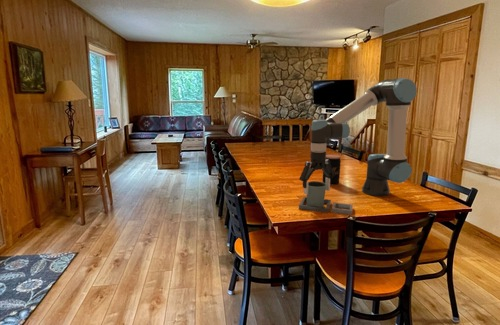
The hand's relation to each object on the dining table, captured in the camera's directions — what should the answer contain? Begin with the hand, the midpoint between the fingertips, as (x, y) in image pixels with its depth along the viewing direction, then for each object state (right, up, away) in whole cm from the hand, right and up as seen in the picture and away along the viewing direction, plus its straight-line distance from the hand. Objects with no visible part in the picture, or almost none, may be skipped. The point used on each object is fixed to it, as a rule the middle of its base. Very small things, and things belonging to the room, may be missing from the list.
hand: (316, 192), depth 160 cm
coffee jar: (+19, +2, +46) cm, 50 cm away
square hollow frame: (0, -7, +1) cm, 8 cm away
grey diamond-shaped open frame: (+12, -9, -4) cm, 15 cm away
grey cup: (-1, -8, +2) cm, 8 cm away
